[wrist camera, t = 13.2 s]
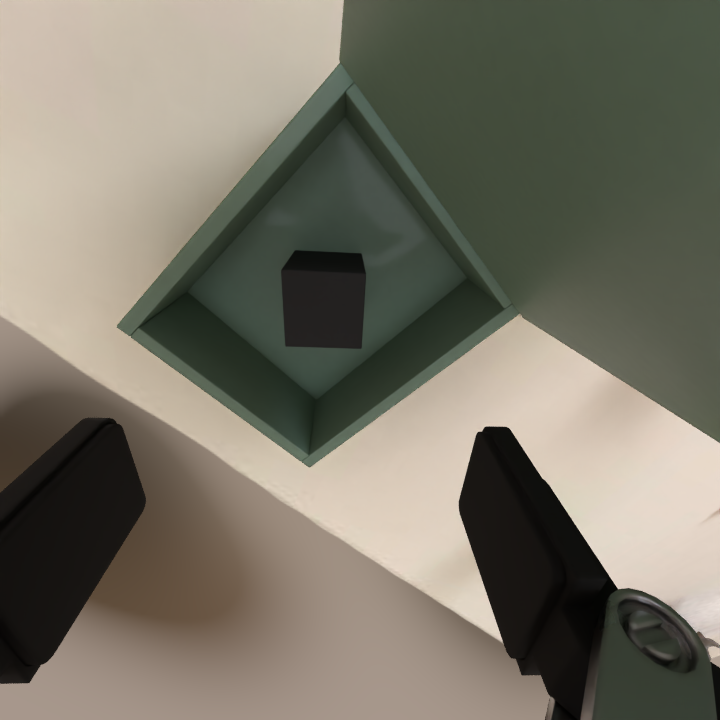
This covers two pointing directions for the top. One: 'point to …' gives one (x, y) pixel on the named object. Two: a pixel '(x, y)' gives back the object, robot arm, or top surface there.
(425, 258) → the chest
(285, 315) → the black block
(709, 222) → the lid
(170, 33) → the top surface
